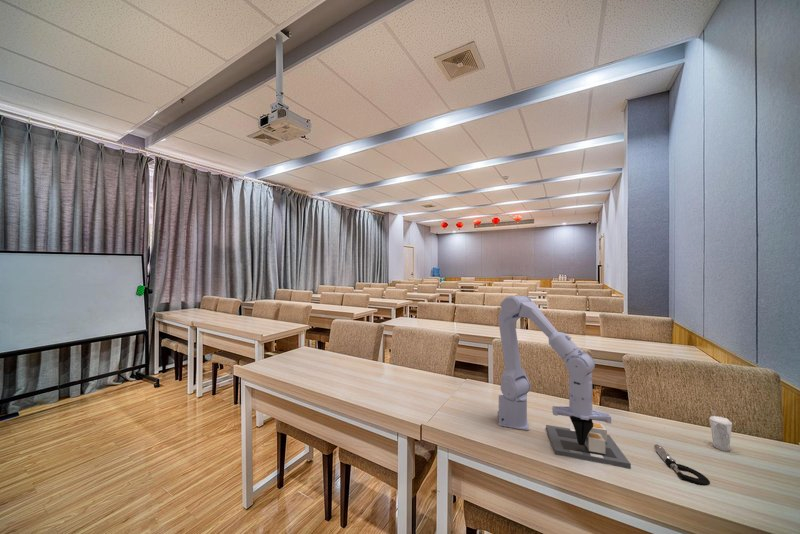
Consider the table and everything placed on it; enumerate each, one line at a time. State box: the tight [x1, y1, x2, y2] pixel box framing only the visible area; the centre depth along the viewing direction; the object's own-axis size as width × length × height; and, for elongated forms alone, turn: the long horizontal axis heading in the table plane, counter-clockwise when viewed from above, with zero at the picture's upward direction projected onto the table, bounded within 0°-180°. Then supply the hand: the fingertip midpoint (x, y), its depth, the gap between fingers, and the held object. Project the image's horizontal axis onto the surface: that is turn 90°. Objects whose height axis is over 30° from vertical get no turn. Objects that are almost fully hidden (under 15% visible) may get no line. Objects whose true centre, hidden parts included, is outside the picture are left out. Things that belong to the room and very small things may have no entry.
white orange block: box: [590, 422, 608, 442], centre depth 88 cm, size 4×4×4 cm
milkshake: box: [709, 409, 733, 452], centre depth 87 cm, size 5×5×10 cm
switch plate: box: [545, 424, 632, 469], centre depth 86 cm, size 18×15×1 cm
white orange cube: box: [585, 432, 606, 454], centre depth 82 cm, size 4×4×4 cm
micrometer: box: [653, 444, 711, 487], centre depth 77 cm, size 15×7×2 cm, turn 158°
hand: (580, 443), depth 83 cm, fingers closed
